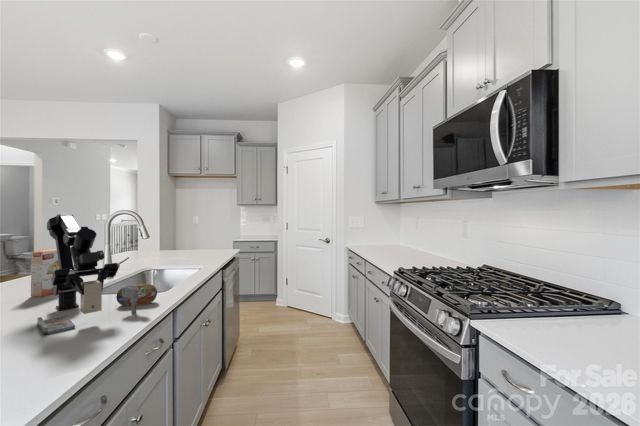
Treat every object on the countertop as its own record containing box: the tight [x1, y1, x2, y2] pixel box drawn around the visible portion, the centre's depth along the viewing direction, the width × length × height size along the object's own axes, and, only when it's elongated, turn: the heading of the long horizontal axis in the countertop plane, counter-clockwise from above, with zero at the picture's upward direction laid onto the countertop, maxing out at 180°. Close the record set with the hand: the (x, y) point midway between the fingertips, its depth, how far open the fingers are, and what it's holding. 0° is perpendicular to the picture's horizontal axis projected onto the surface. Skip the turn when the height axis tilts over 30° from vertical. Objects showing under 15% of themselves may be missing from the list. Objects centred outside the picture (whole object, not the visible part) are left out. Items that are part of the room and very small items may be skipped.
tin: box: [116, 283, 158, 307], centre depth 133 cm, size 15×3×8 cm, turn 111°
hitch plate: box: [36, 315, 76, 336], centre depth 107 cm, size 14×8×2 cm, turn 49°
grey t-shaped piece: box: [120, 285, 147, 314], centre depth 122 cm, size 3×10×10 cm, turn 79°
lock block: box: [80, 279, 103, 315], centre depth 109 cm, size 5×5×10 cm
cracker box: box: [30, 248, 60, 298], centre depth 148 cm, size 14×6×21 cm, turn 179°
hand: (92, 292), depth 108 cm, fingers closed on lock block, 5 cm apart
